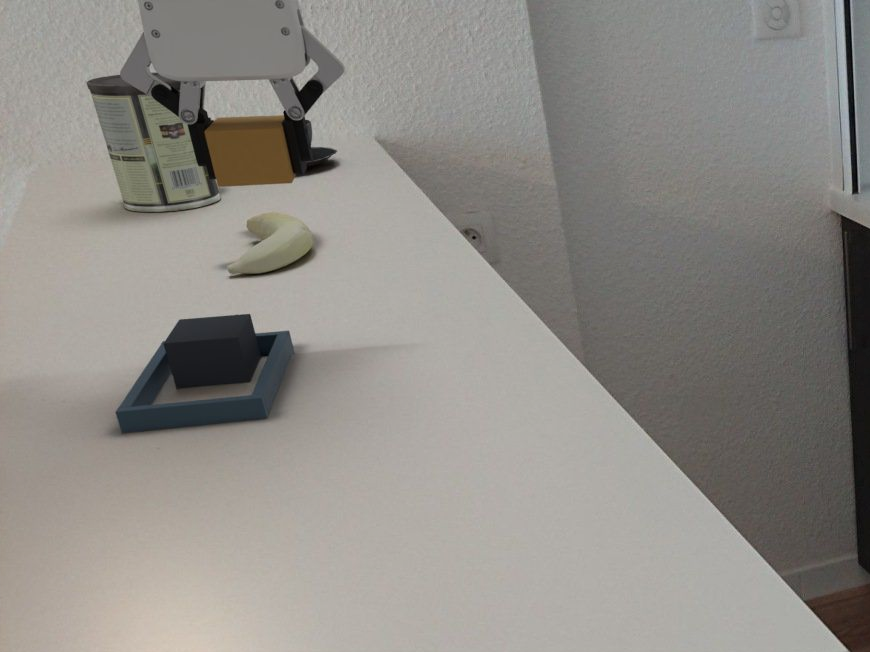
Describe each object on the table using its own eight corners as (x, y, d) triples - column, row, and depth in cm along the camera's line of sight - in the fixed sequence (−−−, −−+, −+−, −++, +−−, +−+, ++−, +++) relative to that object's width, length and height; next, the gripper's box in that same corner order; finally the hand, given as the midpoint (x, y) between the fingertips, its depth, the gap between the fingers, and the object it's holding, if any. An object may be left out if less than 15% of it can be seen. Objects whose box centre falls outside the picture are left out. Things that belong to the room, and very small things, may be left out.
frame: (270, 430, 91) (261, 397, 90) (125, 445, 89) (114, 411, 87) (296, 359, 104) (289, 330, 103) (171, 371, 102) (162, 341, 101)
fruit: (324, 235, 139) (317, 205, 138) (308, 272, 127) (300, 238, 125) (251, 240, 137) (243, 209, 136) (227, 278, 125) (218, 244, 123)
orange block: (292, 183, 96) (280, 128, 94) (217, 187, 94) (203, 131, 92) (300, 167, 101) (288, 114, 99) (229, 171, 99) (216, 117, 97)
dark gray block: (251, 387, 97) (238, 337, 95) (177, 394, 96) (162, 343, 94) (262, 361, 102) (250, 313, 101) (192, 368, 101) (179, 319, 99)
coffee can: (165, 191, 158) (132, 70, 151) (240, 195, 156) (210, 73, 150) (101, 210, 149) (63, 82, 142) (180, 214, 147) (145, 86, 141)
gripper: (335, -93, 95) (382, 159, 103) (70, -95, 90) (142, 170, 98) (326, -90, 88) (377, 178, 97) (41, -92, 83) (121, 190, 92)
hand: (258, 171), depth 97 cm, fingers closed on orange block, 5 cm apart
